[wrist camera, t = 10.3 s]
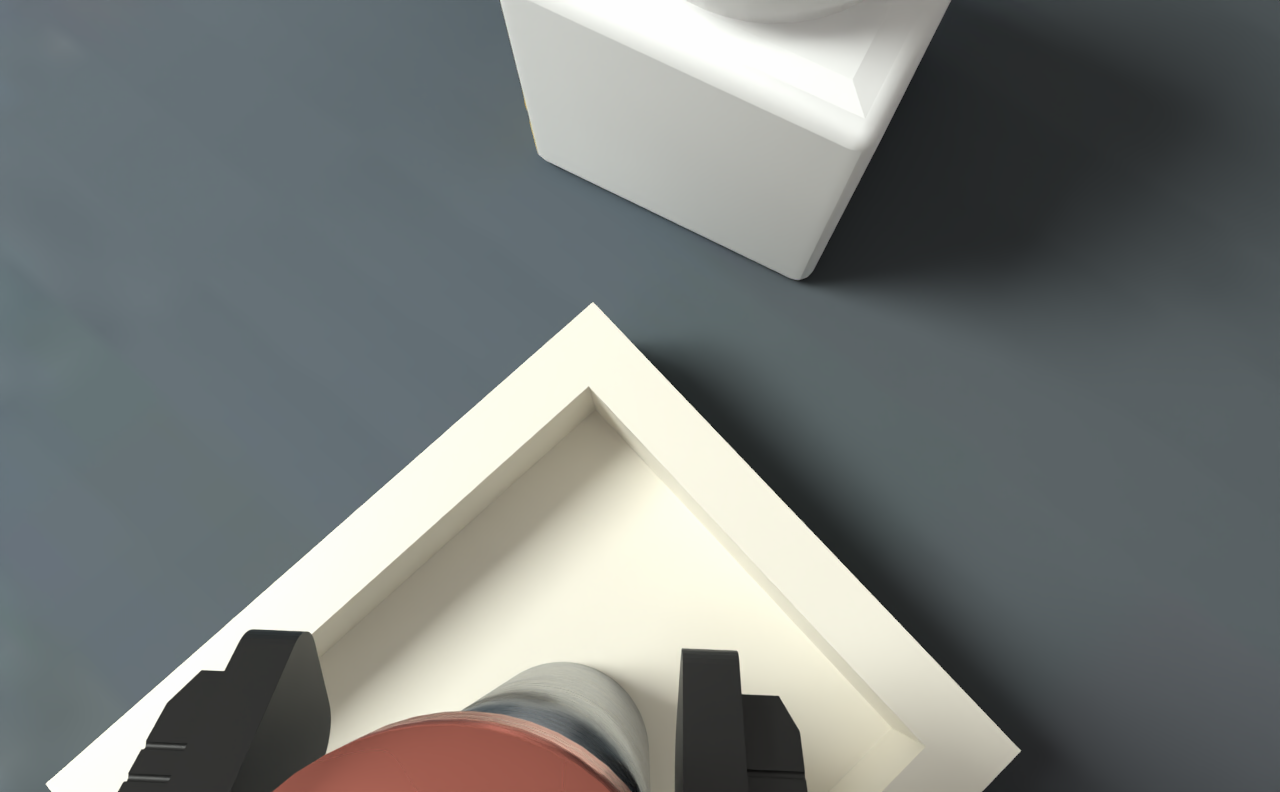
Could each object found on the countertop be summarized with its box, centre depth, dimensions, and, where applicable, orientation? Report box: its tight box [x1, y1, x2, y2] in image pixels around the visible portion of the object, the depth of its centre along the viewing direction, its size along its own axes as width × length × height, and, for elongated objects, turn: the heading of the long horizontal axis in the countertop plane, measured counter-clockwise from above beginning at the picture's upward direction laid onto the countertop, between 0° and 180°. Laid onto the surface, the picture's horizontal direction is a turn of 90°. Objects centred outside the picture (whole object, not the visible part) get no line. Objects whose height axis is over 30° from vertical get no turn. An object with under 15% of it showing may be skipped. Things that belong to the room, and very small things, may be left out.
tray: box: [46, 303, 1021, 792], centre depth 18 cm, size 13×11×3 cm
